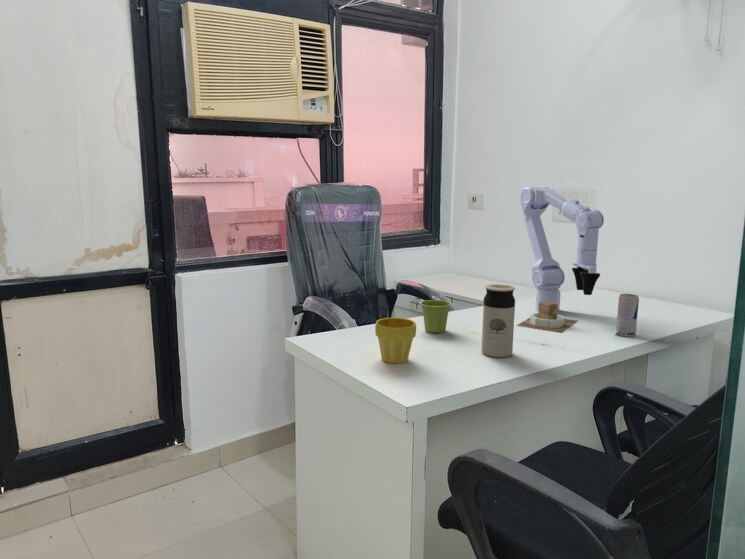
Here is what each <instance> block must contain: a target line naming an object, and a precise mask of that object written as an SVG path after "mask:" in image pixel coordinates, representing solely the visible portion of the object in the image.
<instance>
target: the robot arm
mask: <svg viewBox="0 0 745 559" xmlns="http://www.w3.org/2000/svg"><path fill="white" fill-rule="evenodd" d="M519 203H520V207H521V209H522V217H523V220H524V224H525V227H526V232H527V235H528V238H529V242H530V246H531V249H532V253H533V258H534V260H535V263H534V265H532V267H531V273H532V274H531V279H532V280H531V281H532V284H533V285H534V288H536V292H535V293H536V295H535V311H536V312H538V309H539V303H540V302H547V301H549V302H553V303H557V304H558V310H557V311H562V309H560V307H561V291H560V289H561V286H562V285H563V284H564V283H565V276H566V275H565V272H564V270H563V269H562V267H561V265H560V263H559V262H558V261H556V260H555V259H554V258H553V257H552V254H551V250H550V246H549V243H548V240H547V237H546V233H545V228H544V225H543V222H542V217H541V215H542V214H544V213H545V211H546V210H547V208H548V207H549V206H552V207H554V208H556V209H559V210H560V211H561V213H562V215H563V217H565V218H567V219H568V220H570V221H572V222H574V223H575V226H576V228H577V229H576V230H577V232H576V233H577V235H578V238H577V250H576V251H577V253H576V262H572V266H574V267H572V268H571V271H572V273H573V275H574V279H575V280H574V281H575V285H576V290H577V291H583V292H582V293H583V295H585V296H591V295H592V294H593V291H594V288H595V285H596V283H597V281H598V279H599V278H600V276H601V273H599V272H597V268H598V266H597V259H598V258H597V255H598V245H599V244H598V242H599V234H600V233H599V229H601V228H602V227H603V225H604V223H605V222H604V221H605V219H604V215H603V213H602V212H601V211H600V210H597V209H595V210H591V209H590V207H589V206H584V205H583V204H582V203H580V201H579V200H577V199H572V200H567V199H566V198H564V197H562V196H561V195H559V193H557V192H555V190H554V189H553V188H550V187H549V186H544V187H543V186H542V187H540V186H539V187H536V186H535V187H530V186H526V187H523V188H522V190H521V193H520V196H519Z"/></svg>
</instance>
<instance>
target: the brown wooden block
mask: <svg viewBox="0 0 745 559" xmlns="http://www.w3.org/2000/svg"><path fill="white" fill-rule="evenodd" d="M558 311H559V310H558V304H557V303H553V302H549V301H547V302H540V303H539V309H538V311H537V313H538V318H541V319H548V320H552V319H557V314H558Z"/></svg>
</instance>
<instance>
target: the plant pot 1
mask: <svg viewBox="0 0 745 559" xmlns="http://www.w3.org/2000/svg"><path fill="white" fill-rule="evenodd" d="M374 325H375V328H374V330H375V336H376V337H377V340H378V344H379V351H380V357H381V360H382V361H383V362H386V363H388V364H403V363H406V362H407V361H408V360H409V357H410V353H411V348H412V343H413V340H414V338H416V337H417V336H416V335H417V322H416V321H414V320H412V319H409V318H405V317H384V318H380V319H377V320H376V322H375V324H374Z"/></svg>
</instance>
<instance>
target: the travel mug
mask: <svg viewBox="0 0 745 559" xmlns="http://www.w3.org/2000/svg"><path fill="white" fill-rule="evenodd" d="M484 288H485V289H486V294H485V296H484V297H483V306H482V307H483V311H482V332H481V353H482V354H484V355H485V356H488V357H491V358H496V357H499V358H502V357H503V358H507V357H511V356H512V354H513V349H514V346H513V345H514V333H515V332H514V328H515V309H516V299H515V296H514V290H515V289H516V288H515V286H512V285H509V284H503V283H501V284H500V283H497V284H496V283H495V284H493V283H492V284H486V285H485V287H484Z"/></svg>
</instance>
